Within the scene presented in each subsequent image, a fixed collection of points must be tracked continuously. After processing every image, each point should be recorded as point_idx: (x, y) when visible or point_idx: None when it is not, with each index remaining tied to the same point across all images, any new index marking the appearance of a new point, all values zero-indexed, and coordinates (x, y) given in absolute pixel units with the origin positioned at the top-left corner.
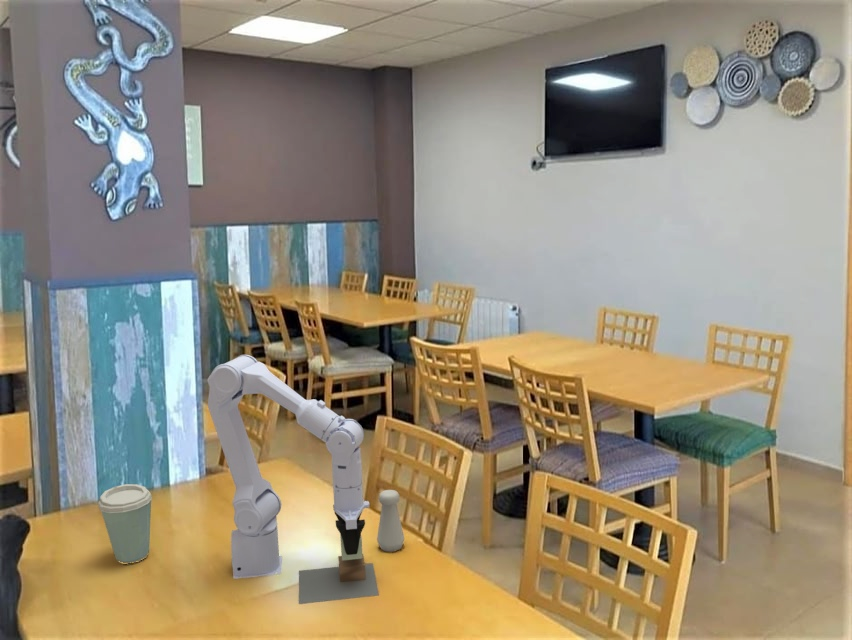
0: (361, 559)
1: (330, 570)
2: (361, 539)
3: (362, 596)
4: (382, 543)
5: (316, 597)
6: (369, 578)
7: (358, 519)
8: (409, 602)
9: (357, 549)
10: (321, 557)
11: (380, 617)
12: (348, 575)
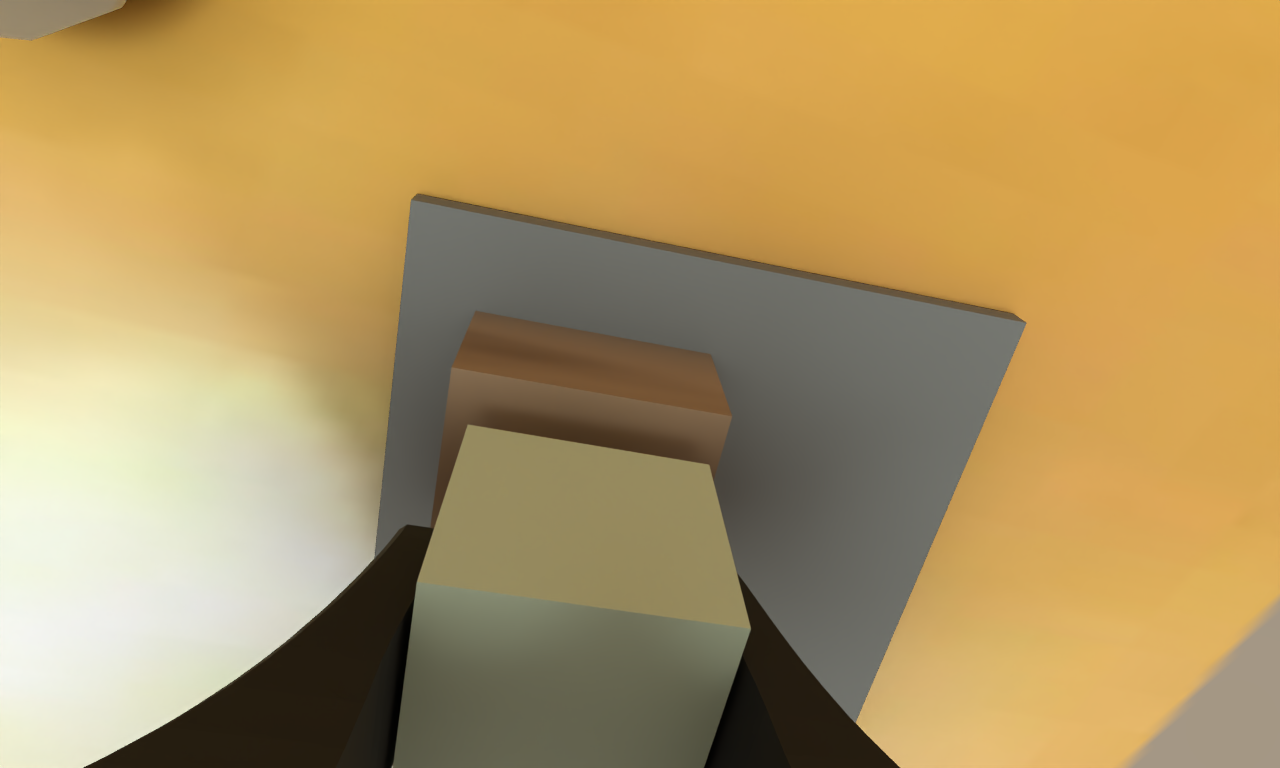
0: (582, 415)
1: None
2: (747, 629)
3: (963, 447)
4: (106, 2)
5: None
6: (706, 318)
7: (345, 764)
8: (1240, 86)
9: (761, 608)
10: (114, 566)
11: (1266, 383)
12: None
